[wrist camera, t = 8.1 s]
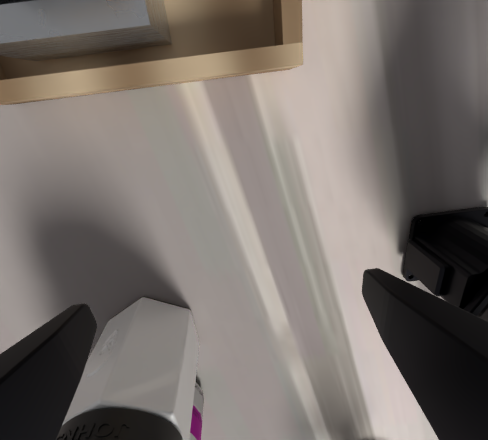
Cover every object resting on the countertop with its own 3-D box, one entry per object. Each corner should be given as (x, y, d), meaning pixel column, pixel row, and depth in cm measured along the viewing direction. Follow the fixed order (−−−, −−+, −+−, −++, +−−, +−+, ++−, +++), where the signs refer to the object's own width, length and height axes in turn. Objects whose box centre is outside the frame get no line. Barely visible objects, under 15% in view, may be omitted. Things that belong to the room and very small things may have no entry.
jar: (159, 281, 24) (103, 435, 13) (217, 332, 27) (211, 492, 16) (90, 329, 26) (-7, 499, 15) (152, 372, 29) (108, 539, 18)
